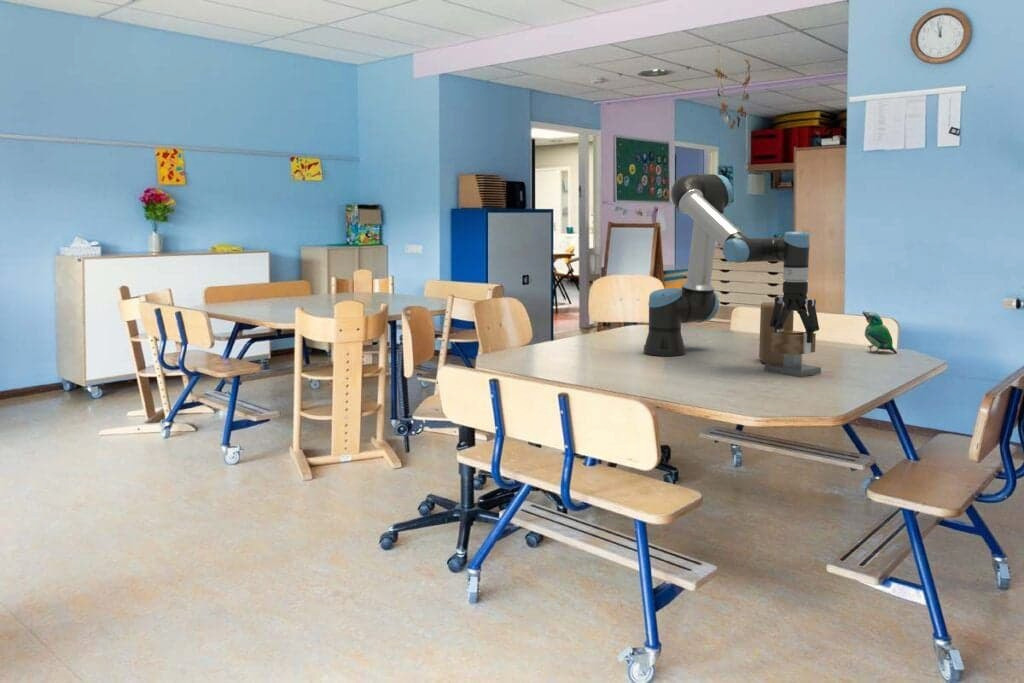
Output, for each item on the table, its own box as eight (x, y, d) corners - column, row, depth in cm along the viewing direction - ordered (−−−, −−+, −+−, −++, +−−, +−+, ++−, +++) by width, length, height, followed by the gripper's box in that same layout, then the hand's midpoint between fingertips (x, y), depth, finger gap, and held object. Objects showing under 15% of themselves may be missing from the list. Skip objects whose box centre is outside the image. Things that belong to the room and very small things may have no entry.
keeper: (764, 370, 274) (765, 330, 273) (783, 367, 280) (785, 328, 278) (800, 377, 263) (802, 335, 261) (820, 373, 269) (822, 332, 267)
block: (792, 364, 286) (794, 305, 283) (761, 363, 288) (763, 304, 285) (788, 359, 295) (790, 302, 292) (758, 358, 297) (760, 301, 294)
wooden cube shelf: (771, 351, 272) (771, 332, 271) (790, 348, 277) (790, 330, 276) (796, 355, 264) (796, 336, 263) (815, 352, 269) (815, 333, 268)
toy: (861, 354, 304) (863, 312, 302) (859, 350, 312) (860, 309, 309) (898, 355, 300) (901, 313, 298) (895, 351, 308) (897, 310, 306)
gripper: (759, 279, 274) (757, 348, 277) (818, 283, 256) (815, 356, 259) (774, 278, 278) (772, 345, 282) (833, 282, 260) (830, 354, 264)
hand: (793, 351), depth 270 cm, fingers closed on wooden cube shelf, 9 cm apart
